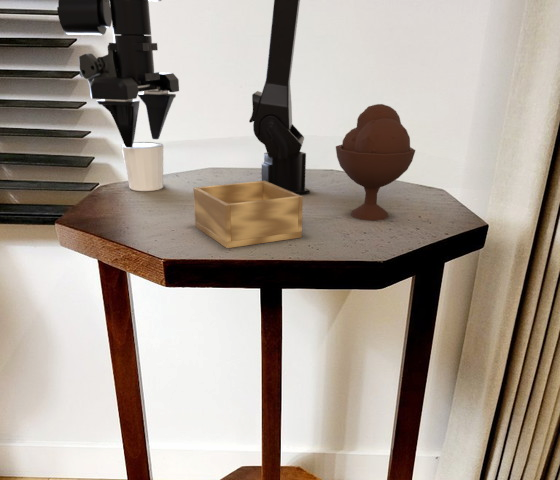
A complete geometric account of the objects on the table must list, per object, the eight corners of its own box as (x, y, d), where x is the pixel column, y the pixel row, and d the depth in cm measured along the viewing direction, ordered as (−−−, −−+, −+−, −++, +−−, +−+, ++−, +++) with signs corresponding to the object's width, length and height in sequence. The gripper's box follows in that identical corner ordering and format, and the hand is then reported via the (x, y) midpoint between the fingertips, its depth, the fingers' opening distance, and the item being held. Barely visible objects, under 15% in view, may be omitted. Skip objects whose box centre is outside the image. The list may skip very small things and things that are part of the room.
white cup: (157, 192, 100) (154, 148, 97) (119, 190, 101) (114, 146, 98) (172, 184, 106) (169, 142, 102) (135, 182, 107) (131, 140, 104)
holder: (264, 218, 87) (264, 180, 84) (301, 237, 79) (303, 196, 76) (195, 226, 83) (193, 187, 80) (226, 248, 74) (225, 205, 72)
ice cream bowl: (319, 210, 91) (324, 102, 84) (382, 204, 95) (392, 100, 88) (354, 228, 83) (362, 110, 75) (421, 220, 87) (436, 107, 79)
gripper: (117, 35, 102) (127, 133, 110) (50, 34, 87) (67, 148, 94) (177, 35, 99) (183, 136, 107) (119, 35, 84) (131, 153, 91)
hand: (142, 143), depth 100 cm, fingers open, 9 cm apart
